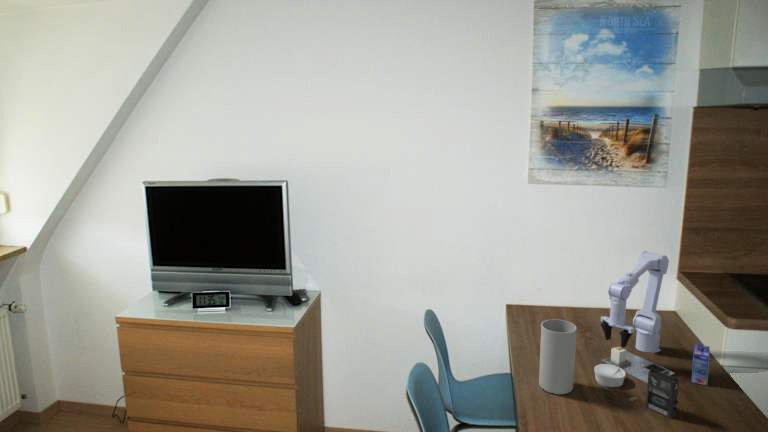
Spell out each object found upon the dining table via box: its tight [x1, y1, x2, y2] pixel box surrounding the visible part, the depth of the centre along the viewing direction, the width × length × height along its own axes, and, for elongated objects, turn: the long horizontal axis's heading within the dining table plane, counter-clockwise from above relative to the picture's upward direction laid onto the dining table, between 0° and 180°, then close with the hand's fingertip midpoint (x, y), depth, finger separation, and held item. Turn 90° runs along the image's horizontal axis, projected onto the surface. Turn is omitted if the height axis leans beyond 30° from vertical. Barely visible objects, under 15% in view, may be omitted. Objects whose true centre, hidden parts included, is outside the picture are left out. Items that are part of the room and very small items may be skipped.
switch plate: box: [601, 350, 676, 384], centre depth 210 cm, size 16×22×2 cm
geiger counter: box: [645, 367, 680, 419], centre depth 179 cm, size 10×4×15 cm, turn 35°
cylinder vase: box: [538, 318, 577, 395], centre depth 195 cm, size 12×12×25 cm
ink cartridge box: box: [691, 341, 711, 386], centre depth 200 cm, size 10×6×14 cm, turn 148°
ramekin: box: [593, 363, 627, 389], centre depth 199 cm, size 11×11×5 cm
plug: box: [610, 346, 627, 365], centre depth 213 cm, size 4×4×7 cm
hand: (615, 343), depth 212 cm, fingers open, 7 cm apart
